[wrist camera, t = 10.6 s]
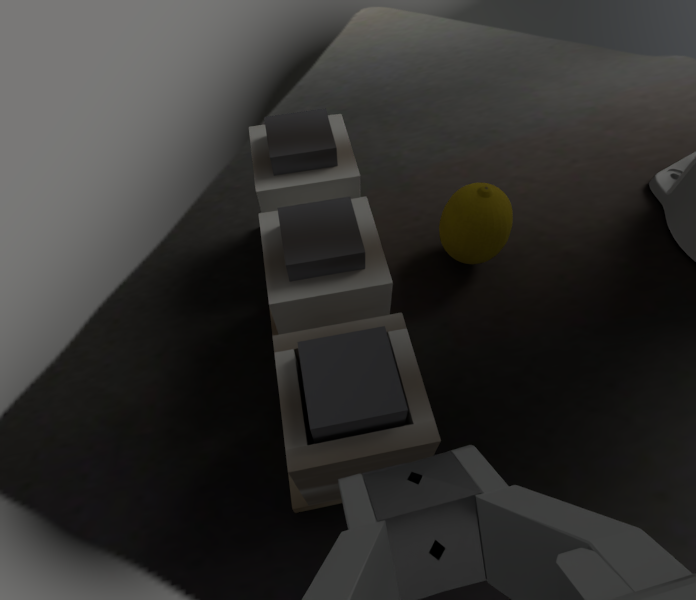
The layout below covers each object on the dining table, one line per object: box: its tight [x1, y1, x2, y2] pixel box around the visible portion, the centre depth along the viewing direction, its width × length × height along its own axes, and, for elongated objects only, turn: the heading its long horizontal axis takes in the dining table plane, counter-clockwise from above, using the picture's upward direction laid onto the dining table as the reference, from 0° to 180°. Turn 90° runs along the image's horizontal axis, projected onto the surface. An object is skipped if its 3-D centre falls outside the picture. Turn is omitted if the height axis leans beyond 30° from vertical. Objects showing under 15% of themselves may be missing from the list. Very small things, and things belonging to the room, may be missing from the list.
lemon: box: [439, 183, 512, 264], centre depth 36 cm, size 6×6×8 cm
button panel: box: [249, 108, 441, 513], centre depth 31 cm, size 25×9×12 cm, turn 11°
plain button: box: [297, 326, 408, 444], centre depth 24 cm, size 4×4×6 cm
